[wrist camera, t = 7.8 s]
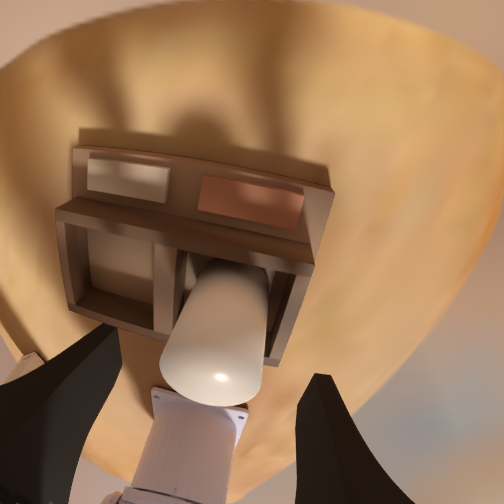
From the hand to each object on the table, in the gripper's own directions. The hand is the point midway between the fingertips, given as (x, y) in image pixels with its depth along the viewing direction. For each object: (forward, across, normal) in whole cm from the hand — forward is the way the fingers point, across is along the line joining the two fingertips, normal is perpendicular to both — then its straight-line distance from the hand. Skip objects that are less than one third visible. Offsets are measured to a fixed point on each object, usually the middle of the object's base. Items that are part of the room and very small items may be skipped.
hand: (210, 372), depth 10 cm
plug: (+6, 0, 0) cm, 6 cm away
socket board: (+7, +3, -1) cm, 7 cm away
